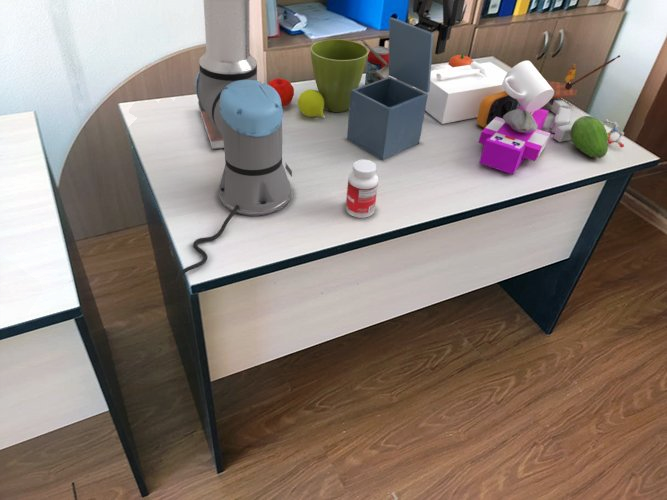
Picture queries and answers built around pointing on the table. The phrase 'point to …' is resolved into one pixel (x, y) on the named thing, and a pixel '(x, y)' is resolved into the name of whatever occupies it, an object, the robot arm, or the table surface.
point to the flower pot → (337, 70)
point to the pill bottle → (362, 189)
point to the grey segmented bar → (561, 121)
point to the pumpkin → (460, 61)
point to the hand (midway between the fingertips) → (430, 48)
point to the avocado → (590, 136)
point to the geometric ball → (442, 66)
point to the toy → (512, 143)
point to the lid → (411, 52)
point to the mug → (527, 86)
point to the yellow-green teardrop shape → (311, 103)
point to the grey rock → (520, 121)
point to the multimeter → (495, 107)
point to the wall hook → (385, 70)
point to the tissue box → (462, 90)
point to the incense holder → (567, 89)
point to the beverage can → (375, 63)
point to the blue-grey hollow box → (386, 117)
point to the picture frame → (211, 130)
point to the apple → (283, 90)
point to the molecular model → (614, 132)
